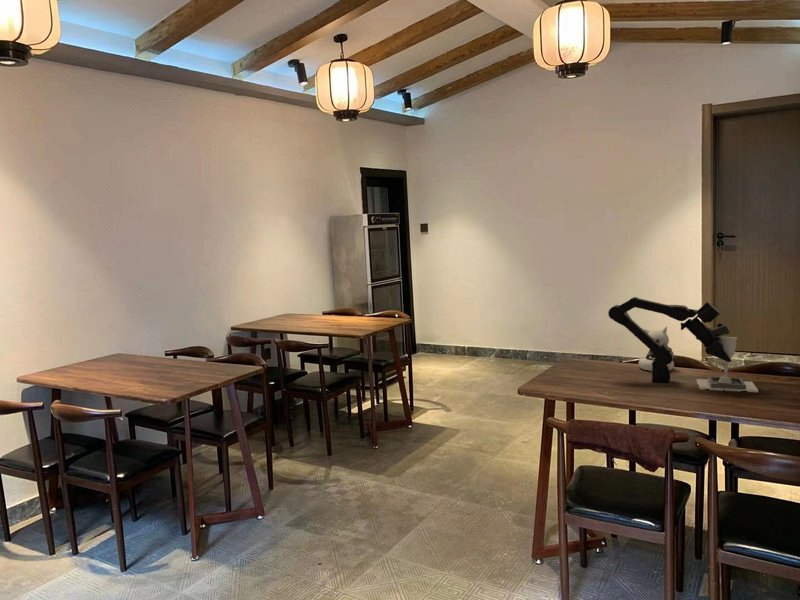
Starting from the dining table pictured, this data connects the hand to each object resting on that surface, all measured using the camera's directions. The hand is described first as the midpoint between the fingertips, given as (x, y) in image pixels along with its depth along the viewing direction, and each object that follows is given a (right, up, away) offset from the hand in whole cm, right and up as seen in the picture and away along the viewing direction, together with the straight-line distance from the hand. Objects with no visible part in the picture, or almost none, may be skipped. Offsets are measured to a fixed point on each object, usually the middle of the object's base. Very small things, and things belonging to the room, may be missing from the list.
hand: (730, 360), depth 235 cm
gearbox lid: (-1, -11, +2) cm, 11 cm away
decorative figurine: (-14, -8, +35) cm, 39 cm away
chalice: (-2, -9, +1) cm, 9 cm away
